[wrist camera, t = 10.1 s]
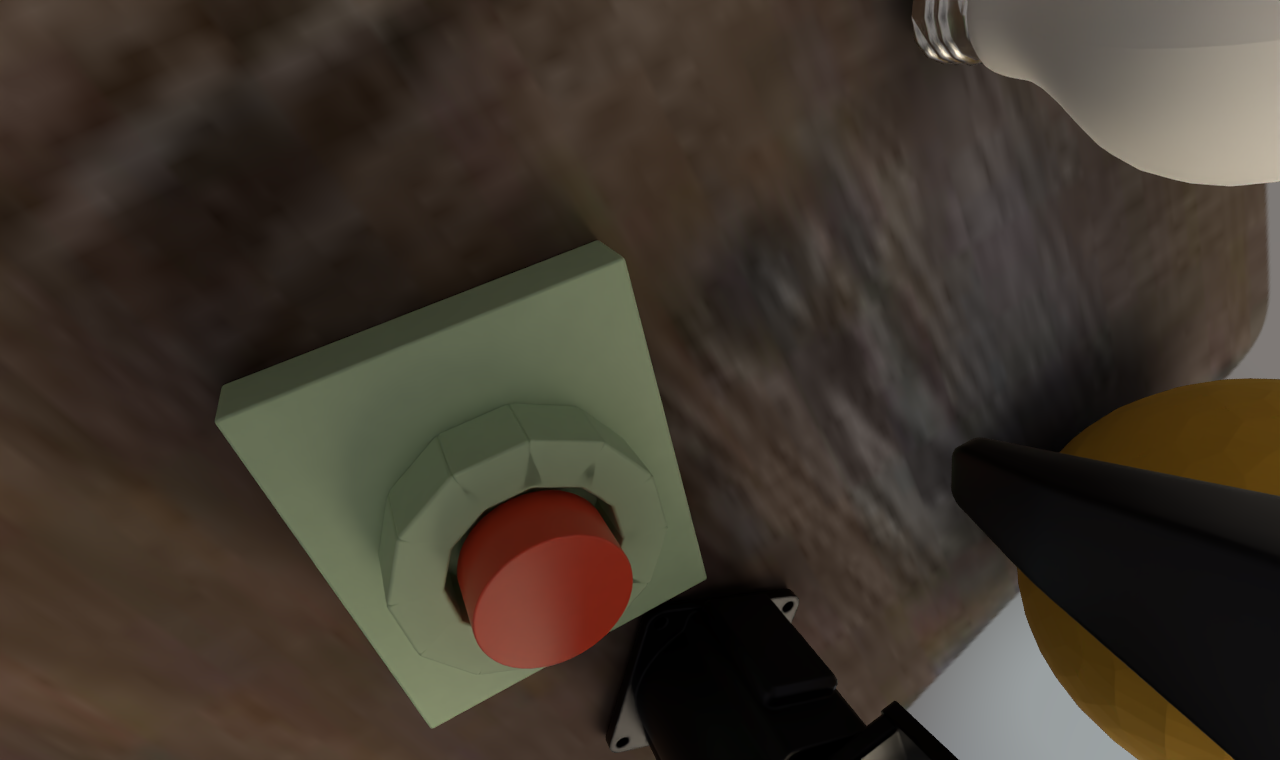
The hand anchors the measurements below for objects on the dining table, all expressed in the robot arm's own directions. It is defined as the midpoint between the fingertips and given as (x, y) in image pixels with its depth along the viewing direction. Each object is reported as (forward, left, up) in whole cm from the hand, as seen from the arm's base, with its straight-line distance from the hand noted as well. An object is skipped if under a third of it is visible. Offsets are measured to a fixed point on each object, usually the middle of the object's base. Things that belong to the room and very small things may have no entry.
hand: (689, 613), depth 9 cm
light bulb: (+10, -10, -10) cm, 17 cm away
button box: (-4, -1, -10) cm, 11 cm away
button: (-4, -1, -7) cm, 8 cm away
